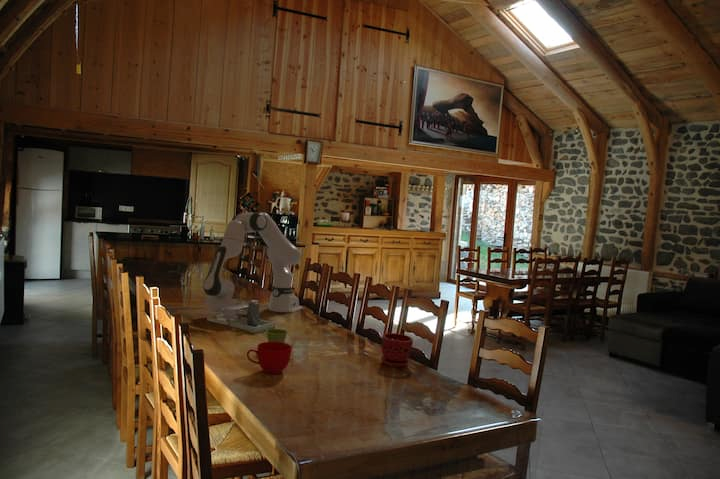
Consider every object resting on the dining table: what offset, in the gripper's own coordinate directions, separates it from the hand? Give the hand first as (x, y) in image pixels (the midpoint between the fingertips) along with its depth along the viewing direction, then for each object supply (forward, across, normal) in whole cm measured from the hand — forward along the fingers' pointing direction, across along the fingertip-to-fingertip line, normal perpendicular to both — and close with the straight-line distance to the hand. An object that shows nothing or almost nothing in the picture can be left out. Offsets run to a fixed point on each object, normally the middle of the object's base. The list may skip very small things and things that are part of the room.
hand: (253, 311), depth 275 cm
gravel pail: (0, 0, +8) cm, 8 cm away
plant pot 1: (+33, -25, +9) cm, 43 cm away
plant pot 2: (+82, -6, +9) cm, 83 cm away
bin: (0, 0, +8) cm, 9 cm away
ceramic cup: (+48, -50, +9) cm, 70 cm away
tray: (-17, 0, +8) cm, 19 cm away
